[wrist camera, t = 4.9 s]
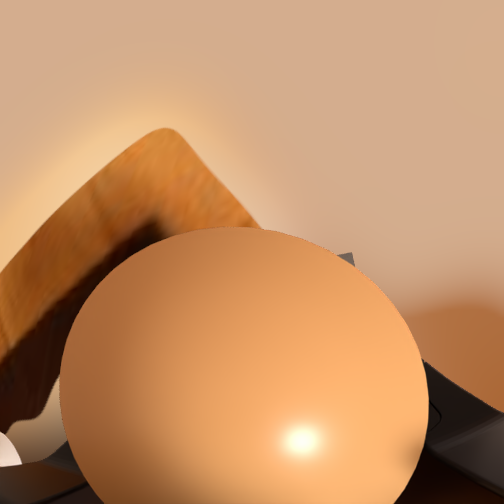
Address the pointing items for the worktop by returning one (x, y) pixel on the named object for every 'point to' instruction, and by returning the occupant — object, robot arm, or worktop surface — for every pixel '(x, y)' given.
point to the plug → (242, 377)
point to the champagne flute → (8, 452)
